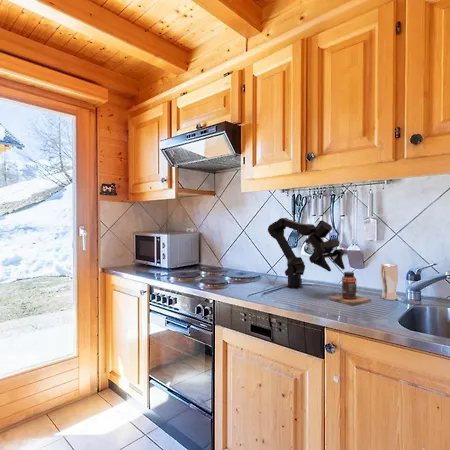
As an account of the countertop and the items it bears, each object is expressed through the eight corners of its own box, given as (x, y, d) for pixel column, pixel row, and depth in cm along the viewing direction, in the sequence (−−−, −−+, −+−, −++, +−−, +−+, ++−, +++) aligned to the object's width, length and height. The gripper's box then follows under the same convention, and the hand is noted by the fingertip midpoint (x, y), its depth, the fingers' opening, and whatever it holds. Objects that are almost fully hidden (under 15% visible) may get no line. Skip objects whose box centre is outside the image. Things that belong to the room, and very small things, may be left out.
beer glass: (377, 297, 139) (376, 264, 139) (388, 295, 142) (388, 263, 142) (390, 300, 133) (389, 266, 133) (402, 299, 135) (401, 265, 135)
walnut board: (329, 299, 136) (329, 297, 136) (347, 296, 142) (347, 293, 142) (352, 305, 126) (352, 302, 126) (370, 301, 132) (370, 298, 132)
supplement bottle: (359, 298, 133) (359, 272, 133) (350, 300, 130) (349, 273, 130) (348, 295, 138) (348, 270, 138) (339, 297, 136) (338, 271, 136)
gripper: (313, 233, 139) (333, 260, 130) (340, 232, 149) (361, 257, 139) (301, 249, 146) (319, 276, 137) (328, 247, 156) (346, 272, 146)
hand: (337, 270), depth 140 cm, fingers open, 9 cm apart
